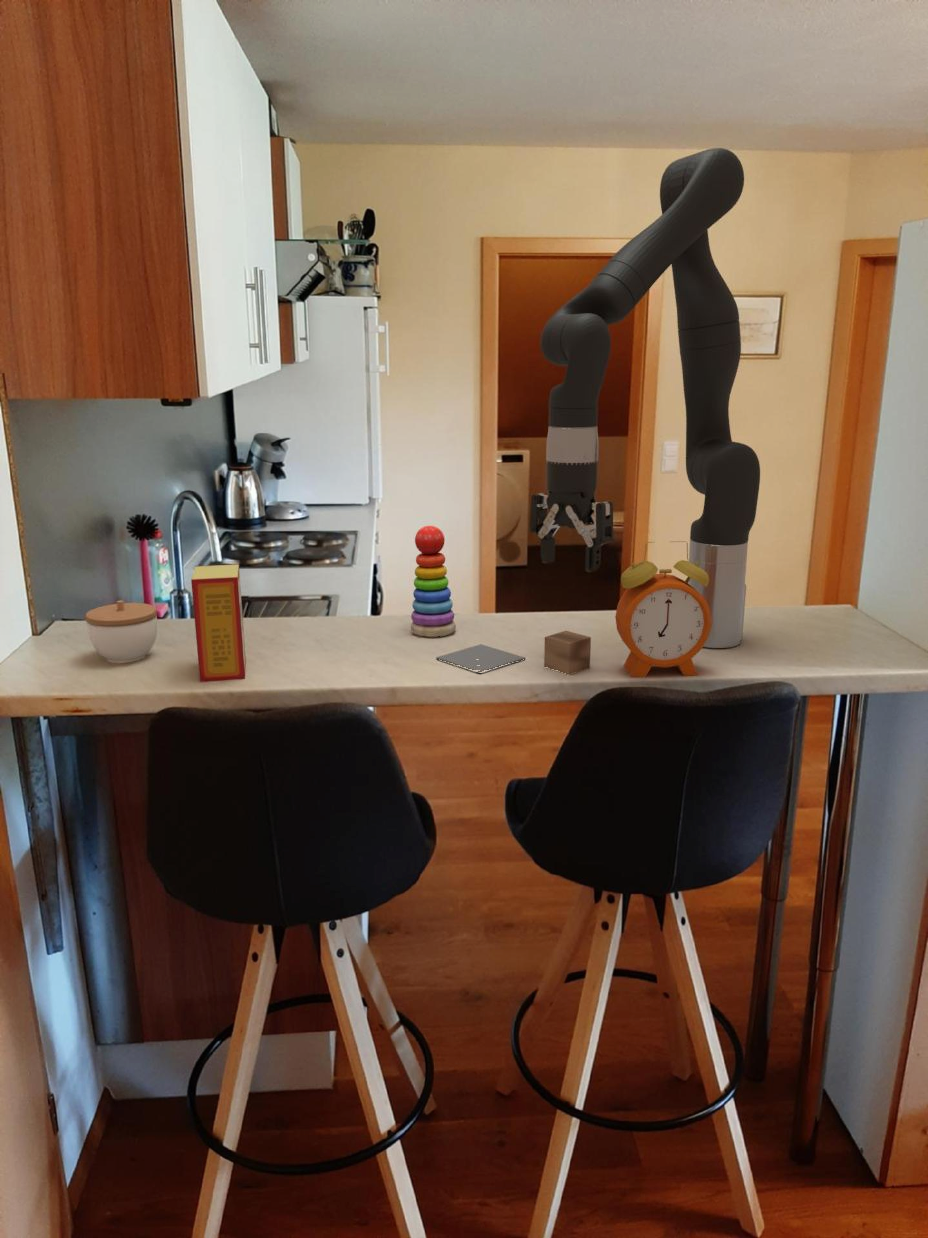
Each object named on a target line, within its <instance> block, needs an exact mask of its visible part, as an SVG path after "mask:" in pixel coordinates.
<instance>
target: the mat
mask: <svg viewBox="0 0 928 1238" xmlns="http://www.w3.org/2000/svg"><path fill="white" fill-rule="evenodd" d="M435 657H436V658H435V660H436V659H440V660H442V661H446V662H449V663H453V664H455V665H460V666H462V667H466V668H468V669H472V670H480V671H478V672H482V671H484V670H489V669H493V668H495V667H499V666H501V665H505V664H508V663H512V662H516V661H520V662H522V661H521V660H523V659H525V660H526V657H524V656H521V655H518V654H516V653H512V652H508V651H505V650H501V649H498V648H495V647H491V646H488V645H485V644H483V643H481V644H478V645H473V646H470V647H466V648H464V649H459V650H457V651H453V652H450V653H446V654H442V655H439V656H435ZM476 659H479V660H476ZM442 661H441V662H442ZM523 661H524V660H523ZM477 665H480V666H477Z"/></svg>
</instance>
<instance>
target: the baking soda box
mask: <svg viewBox="0 0 928 1238" xmlns="http://www.w3.org/2000/svg"><path fill="white" fill-rule="evenodd" d="M240 574H241V573H240V564H239V563H237V564H236V563H234V564H217V565H216V564H214V565H213V564H212V565H195V566H194V569H193V574H192V577H191V579H190V581H191V591H192V592H191V593H192V604H193V616H194V628H195V629H194V630H195V638H196V639H195V640H196V651H197V661H198V673H199V682H200V683H206V682H221V681H235V680H245V679H246V668H247V667H246V664H247V656H246V643H245V632H244V631H245V630H244V629H245V627H244V615H243V602H242V591H241V590H242V589H241V588H242V587H241V577H240V576H241V575H240Z"/></svg>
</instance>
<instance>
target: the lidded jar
mask: <svg viewBox="0 0 928 1238" xmlns="http://www.w3.org/2000/svg"><path fill="white" fill-rule="evenodd" d="M157 615H158V610H157V608H156V606H154V605H153V604H148V603H141V602H140V603H139V602H124V600H117V601H116V603H114V604H106V605H103V606H99V607H95V608H93V609H90V610H88V611H87V612H86V613H85V615H84V616H85V621H86V626H87V631H88V635H89V640H90V642H91V644H92V646H93V648H94V649H95V651H96V652H97V654H99V655H101V656H102V657H103V658H105V660H106V661H107V662H109V663H111V664H126V663H134V662H138V661H140V660H143V659H145V657H147V654H148V652H149V651H151V649H152V648H153V646H154V645H155V642H156V640H157V635H158V634H157V633H158V619H157V618H158V617H157Z"/></svg>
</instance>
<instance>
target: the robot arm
mask: <svg viewBox="0 0 928 1238" xmlns="http://www.w3.org/2000/svg"><path fill="white" fill-rule="evenodd" d="M744 173H745V172H744V167H743V165H742V163H741V160H740V159H739V158H738V156H737V155H736V153H734V152H733V151H731V150H729V149H728V148H723V147H715V148H708V149H706V150H701V151H699V152H695V153H692V154H689V155H687V156H684V157H681V158H678V159H675V160H674V161H671V163H670V164H668V165H667V167H666V168H665V169H664V172H663V174H662V176H661V180H660V184H659V186H660V187H659V200H660V201H659V202H660V208H661V209H660V210H661V215H660V216H659V217H658V218H657V219H656V220H655V221H653V222H652V223H651V224H650V225H648V226H646V228H645V229H643V230H642V231H641V232H639V233H638V234H637V235H635V236H634V237H633V238H632V239H630V240H629V241H628V242H627V243H625V244H624V245H623V246H622V247H621V248H620V249H619V250H618V251H617V252H616V253H615V254H614V255H613V256H612V257H611V258H610V259H609V260H608V262H607V263H606V264H605V265H604V266H603V267H602V269H601V270H600V271H599V272H598V273H597V275H596V276H595V277H594V278H593V279H592V281H591V282H590V283H589V285H587V287H585V288H584V289H583V290H581V291H579V292H578V293H577V294H576V295H574V296H573V297H572V298H571V299H570V300H569V301H567V302H566V303H565V304H564V305H562V306H561V307H560V308H559V309H558V310H557V311H556V312H555V313H554V314H552V316H551V317H550V318H549V319H548V321H547V322H546V324H545V326H544V327H543V329H542V332H541V334H540V335H541V336H540V350H541V353H542V355H543V356H544V358H545V359H546V360H547V361H548V362H549V363H551V364H553V365H556V366H560V367H562V366H563V367H566V371H565V375H564V379H563V381H562V382H561V383H559V384H557V385H555V386H554V387H552V388H551V390H550V392H549V399H548V429H547V431H548V432H547V438H546V448H545V449H546V452H545V453H546V455H545V456H546V458H545V461H546V463H545V465H546V466H545V488H546V491H548V493H547V492H540V493H539V492H538V493H536V494H535V493H534V494H532V495H531V497H530V500H531V501H530V518H529V532H530V533H531V534H534V533H535V534H536V535H537V536H538V537H539V538H540V555H539V556H540V558H541V562H542V564H551V563H554V562H555V560H556V538H555V537H554V536H555V535H556V533H557V531H558V530H559V529H560V528H562V527H567V528H570V529H576V532H577V533H578V534H579V536H580V535H581V536H582V538H583V540H584V542H585V544H586V545H587V546H586V547H585V557H584V558H585V561H584V564H585V565H584V567H585V569H584V570H585V571H586V572H588V573H593V572H596V571H598V570H599V568H600V567H601V564H602V563H601V558H602V555H601V554H602V546H603V545H606V544H609V543H612V542H613V541H614V504H613V502H612V501H611V500H610V501H602V502H597V501H596V498H595V493H596V491H597V488H598V475H599V472H598V470H599V469H598V468H599V447H600V446H599V433H598V422H599V421H598V420H599V419H598V418H599V417H598V416H599V395H600V391H601V389H602V386H603V383H604V379H605V375H606V372H607V368H608V364H609V361H610V355H611V349H612V348H611V346H612V339H611V334H610V330H609V327H608V326H611V325H614V324H617V323H620V322H622V321H623V320H624V319H625V318H626V317H627V316H629V314H630V313H631V312H632V310H634V308H635V307H637V305H638V303H640V301H641V300H642V299H643V297H644V296H645V295H646V294H647V293H648V291H649V290H650V289H651V288H652V286H654V284H655V283H656V282H657V281H658V280H659V278H660V277H662V275H663V274H664V273H665V271H666V270H668V268H669V267H671V269H672V270H671V271H672V280H673V289H674V295H675V297H674V298H675V307H676V317H677V318H676V319H677V320H676V321H677V334H678V345H679V348H678V349H679V354H680V362H681V372H682V385H683V395H684V396H683V397H684V404H685V421H686V423H685V426H686V427H685V470H686V472H685V473H686V476H687V480H688V481H689V484H690V485H691V487H692V488H693V489H694V491H697V492H698V493H699V494H701V495H704V502H703V510H702V514H701V516H700V518H698V519H696V520H694V521H693V522H692V523H691V525H690V533H689V547H688V561H689V560H690V561H689V562H691V563H692V562H693V563H692V564H694V563H695V564H694V565H696V563H697V561H698V562H700V565H699V566H698V567H699V568H701V569H702V570H704V571H705V572H706V573H707V574H708V576H709V582H708V585H707V587H706V586H704V585H702V584H700V583H698V582H696V581H695V580H693V579H690V580H689V582H688V584H689V585H691V586H692V587H693V588H694V589H696V590H697V591H698V592H699V593H700V594H701V595H702V596H703V598H704V599H705V600H706V603H707V605H708V607H709V609H710V614H711V628H710V633H709V637H708V639H707V641H706V642H705V644H704V646H703V647H702V648H710V649H724V648H726V649H727V648H733V647H736V646H739V644H740V643H741V640H742V639H743V634H744V633H743V632H744V622H745V608H746V607H745V606H746V595H747V584H746V574H747V560H748V559H747V557H748V549H749V548H748V547H749V545H748V544H749V536H750V531H751V530H752V527H753V526H754V524H755V520H756V515H757V514H756V513H757V507H758V501H759V492H760V484H761V483H760V482H761V465H760V460H759V457H758V455H757V453H756V452H755V450H754V449H753V448H752V447H750V446H749V445H747V444H744V443H742V442H736V441H733V440H732V434H731V425H730V413H729V410H730V409H729V407H730V405H729V404H730V398H731V393H732V390H733V386H734V383H735V379H736V376H737V372H738V369H739V366H740V360H741V354H742V351H741V350H742V341H741V324H740V323H741V322H740V314H739V307H738V305H737V302H736V300H735V297H734V295H733V293H732V291H731V290H730V288H729V286H728V285H727V283H726V281H725V279H724V278H723V276H722V274H721V273H720V271H719V270H718V267H717V266H716V264H715V261H714V258H713V255H712V251H711V247H710V240H709V231H708V230H709V229H710V228H711V227H712V226H713V225H714V224H716V223H717V222H718V221H720V220H721V219H722V218H723V217H724V216H725V215H726V214H728V213H729V211H731V210H732V209H733V207H735V206H736V205H737V203H738V202H739V201H740V197H741V196H742V193H743V189H744V186H745V174H744ZM548 510H549V512H548Z"/></svg>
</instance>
